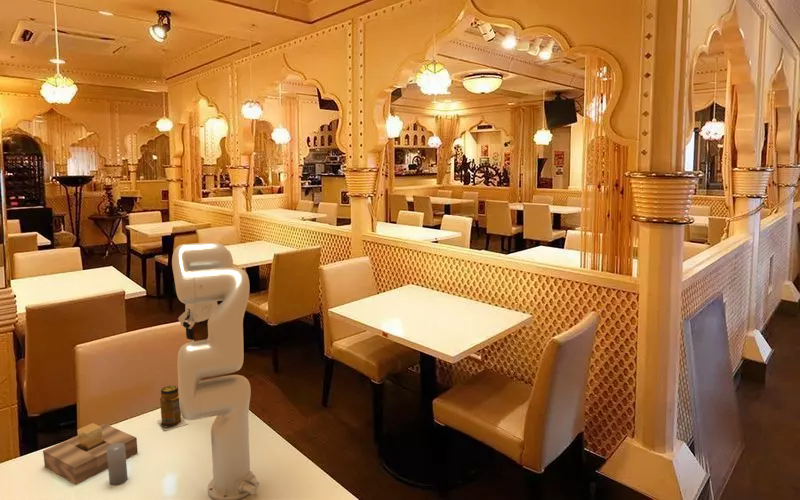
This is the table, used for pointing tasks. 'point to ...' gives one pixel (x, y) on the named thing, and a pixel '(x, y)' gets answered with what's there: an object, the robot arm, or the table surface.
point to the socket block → (86, 455)
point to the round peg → (117, 463)
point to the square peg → (90, 437)
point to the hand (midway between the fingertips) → (202, 335)
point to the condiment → (170, 409)
